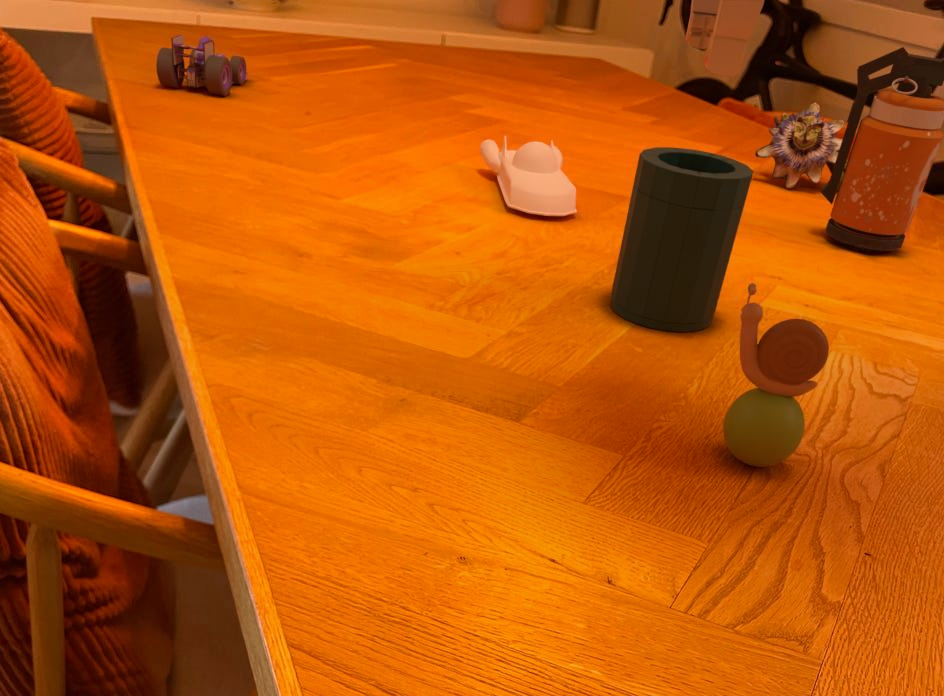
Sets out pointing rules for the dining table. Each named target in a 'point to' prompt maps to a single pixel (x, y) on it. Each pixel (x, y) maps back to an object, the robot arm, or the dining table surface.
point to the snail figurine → (773, 386)
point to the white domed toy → (531, 178)
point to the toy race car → (200, 67)
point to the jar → (678, 237)
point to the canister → (886, 152)
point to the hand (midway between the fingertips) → (709, 60)
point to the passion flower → (803, 146)
